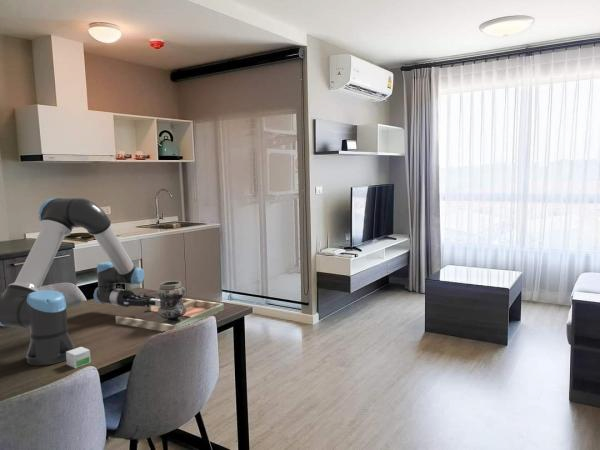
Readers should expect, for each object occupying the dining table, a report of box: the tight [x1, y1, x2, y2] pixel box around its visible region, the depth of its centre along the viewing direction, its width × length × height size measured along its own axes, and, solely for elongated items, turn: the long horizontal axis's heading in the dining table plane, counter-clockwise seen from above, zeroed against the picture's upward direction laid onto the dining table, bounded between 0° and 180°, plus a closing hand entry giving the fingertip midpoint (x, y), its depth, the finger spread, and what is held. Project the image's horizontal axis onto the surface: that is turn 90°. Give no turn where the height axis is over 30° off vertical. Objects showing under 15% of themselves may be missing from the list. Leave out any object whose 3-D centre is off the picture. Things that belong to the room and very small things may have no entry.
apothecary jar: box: [156, 280, 187, 325], centre depth 198 cm, size 12×12×18 cm
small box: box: [66, 346, 91, 369], centre depth 159 cm, size 6×6×5 cm
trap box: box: [115, 298, 225, 332], centre depth 209 cm, size 32×34×3 cm
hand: (162, 303), depth 202 cm, fingers closed
